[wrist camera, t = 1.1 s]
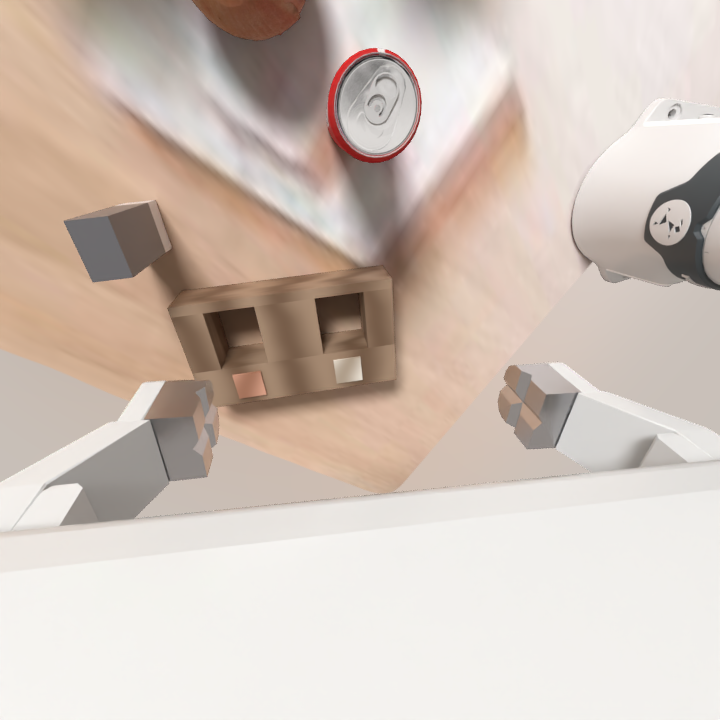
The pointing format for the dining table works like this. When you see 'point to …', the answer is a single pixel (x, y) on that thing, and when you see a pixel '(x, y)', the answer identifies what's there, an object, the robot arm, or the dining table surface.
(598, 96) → the dining table surface
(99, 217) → the plug
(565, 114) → the dining table surface
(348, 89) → the beverage can
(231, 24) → the onion
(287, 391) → the socket dock
